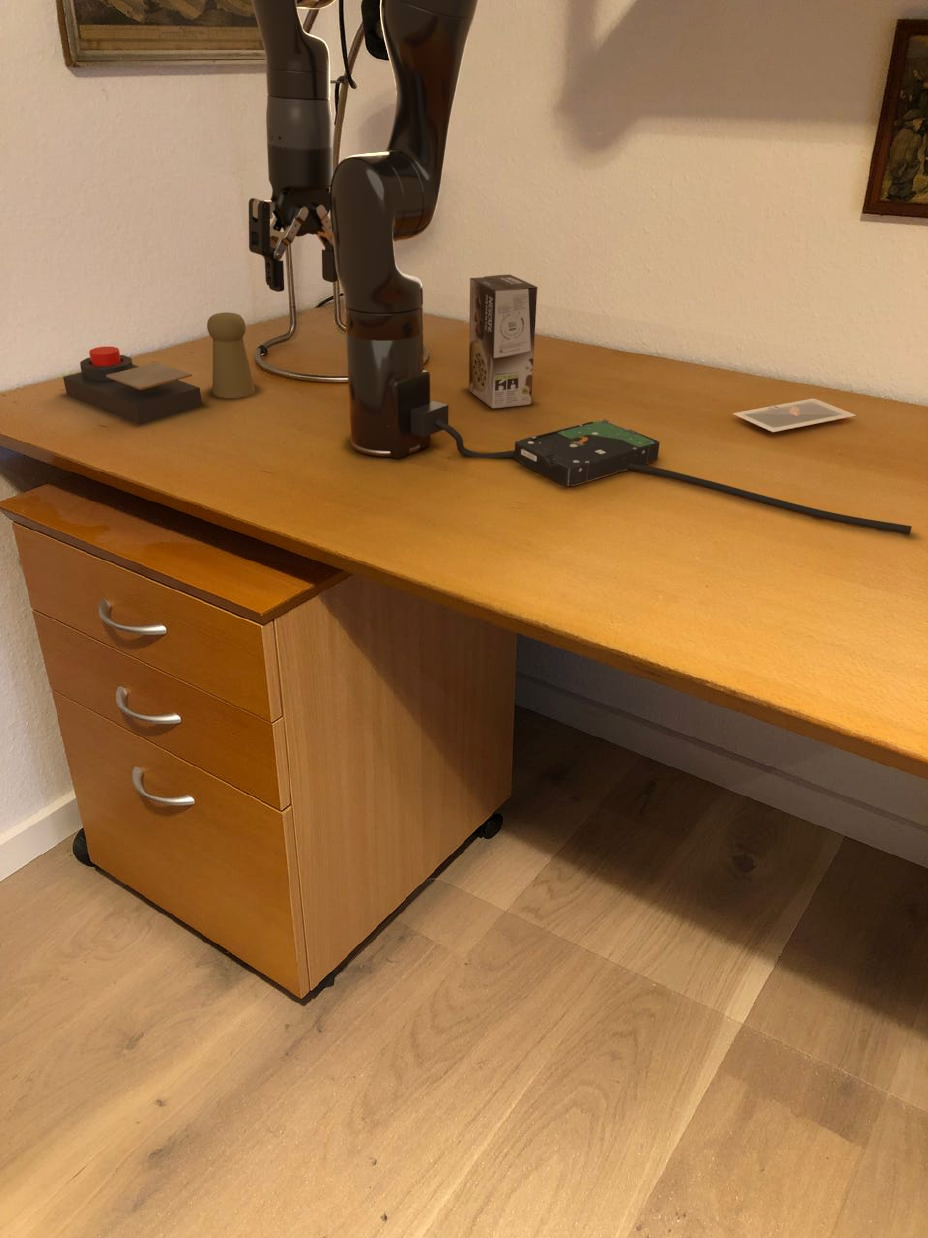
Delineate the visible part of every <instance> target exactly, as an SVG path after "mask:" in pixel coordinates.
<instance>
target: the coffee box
mask: <svg viewBox="0 0 928 1238" xmlns="http://www.w3.org/2000/svg"><path fill="white" fill-rule="evenodd" d="M537 297H538V286H536V285H534V284H532V283H530V282H527V281H526V280H523V279H521V278H519V277H516V276H515V275H512V274H496V275H487V276H486V275H485V276H483V277H482V276H481V277H480V276H479V277H470V278H469V330H468V331H469V335H468V337H469V339H468V340H469V341H468V343H469V348H468V350H469V351H468V353H469V355H468V356H469V357H468V360H469V363H468V391H469V392H470V393H472V395H474V396H476V397H477V398H478V399H479V400H480V401H482V402H483V403H484V404H486V405H487V406H488V407H490V408H491V409H493V410H494V409H503V408H510V407H511V408H512V407H520V406H529V405H531V404H532V393H533V392H532V390H533V374H534V373H533V372H534V354H535V337H536V336H535V335H536V319H537V299H538V298H537Z"/></svg>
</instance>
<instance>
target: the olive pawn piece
mask: <svg viewBox="0 0 928 1238" xmlns="http://www.w3.org/2000/svg"><path fill="white" fill-rule="evenodd" d="M206 329H207V332H208V334H209V336H210V338H211V339H212V394H213V395H214V396H216V397H218V398H224V399H238V398H245V397H248V396H251V395H253V394H254V393H255V392H256V388H255V383H254V379H253V376H252V372H251V371H252V370H251V368H250V363H249V358H248V355H247V351H246V350H247V349H246V346H245V342H244V336H245V334H246V331H247V330H246V329H247V327H246V322H245V319H244V318H243V317H242V315H240V314H238V313H235V312H227V311H226V312H219V313H218V312H217V313H214V314H212V315H210V317H209V318H208V320H207V324H206Z"/></svg>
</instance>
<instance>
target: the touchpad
mask: <svg viewBox="0 0 928 1238" xmlns="http://www.w3.org/2000/svg"><path fill="white" fill-rule="evenodd" d="M731 414H732V415H734V416H736V417H738V418H740V419H743V420H746V421H747V422H749V423H751V424H754V425H755V426H758V427H761V428H763V429H764V430H767V431H768V432H769V431H770V432H771V433H775V432H781V431H785V430H790V429H791V430H792V429H795V428H801V427H806V426H810V425H815V424H821V423H826V422H831V421H836V420H841V419H847V418H851V417H855V416H857V415H856V413H855V414H854V413H852V412H849V411H847V410H844V409H842V408H840V407H837V406H834V405H831V404H830V403H827V402H825V401H822V400H819V399H817V398H814V397H813V398H808V399H803V400H796V401H791V402H786V403H782V404H776V405H771V406H770V405H769V406H766V407H759V408H753V409H749V410H745V411H738V412H732V413H731Z"/></svg>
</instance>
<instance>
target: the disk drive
mask: <svg viewBox="0 0 928 1238" xmlns="http://www.w3.org/2000/svg"><path fill="white" fill-rule="evenodd" d="M660 443H661V442H660V441H659V440H656V439H654V438H651V437H649V436H647V435H644V434H642V433H639V432H637V431H636V430H632V429H625V428H624V427H622V426H618V425H617V424H613V423H611V422H610V421H609V420H607V419H604V420H596V421H587V422H584V423H581V424H577V425H574V426H569V427H565V428H561V429H559V430H555V431H554V430H553V431H550V432H547V433H542V434H539V435H535V436H532V437H531V436H529V437H526V438H523V439H520V440H517V441H515V442H514V451H515V456H514V458H513V459H514V460H515V461H517V462H518V463H520V464H522V465H523V466H525V467H527V468H528V469H531V470H533V471H536V473H539V474H542V475H543V476H545V477H547V478H549V479H551V480H552V481H555V482H557V483H559V484H562V485H564V486H566V487H575V486H577V485H582V484H585V483H589V482H591V481H596V480H598V479H601V478H605V477H607V476H610V475H614V474H616V473H619V472H625V471H627V470H629V469H627V465H628V464H629V463H636V464H641V465H648V464H650V463H653V462H654V461H657V460H658V459H659V452H660Z"/></svg>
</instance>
